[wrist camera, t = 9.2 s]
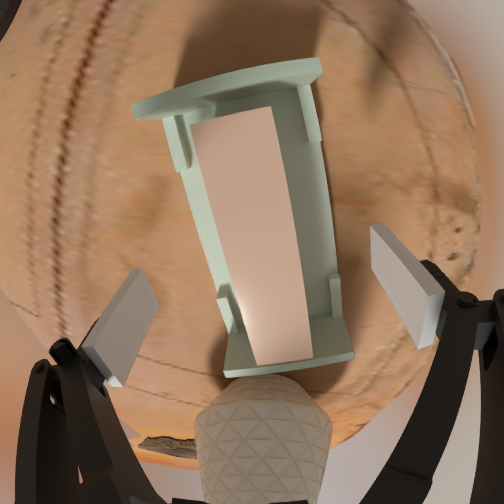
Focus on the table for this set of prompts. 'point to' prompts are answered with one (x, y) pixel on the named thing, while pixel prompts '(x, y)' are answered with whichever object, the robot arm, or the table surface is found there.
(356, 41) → the table surface
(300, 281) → the pinkish tan rectangular block
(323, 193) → the tray
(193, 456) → the wooden fragment
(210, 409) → the vase
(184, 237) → the table surface
